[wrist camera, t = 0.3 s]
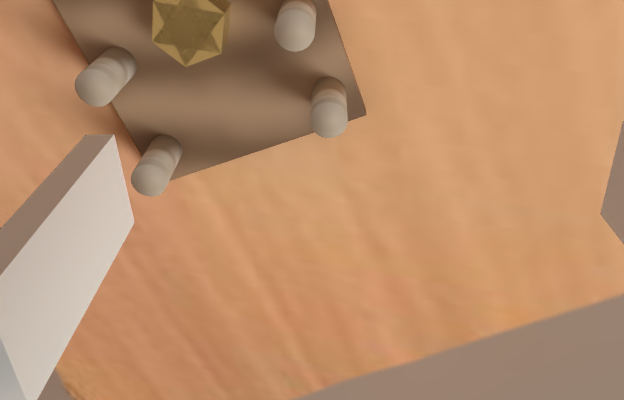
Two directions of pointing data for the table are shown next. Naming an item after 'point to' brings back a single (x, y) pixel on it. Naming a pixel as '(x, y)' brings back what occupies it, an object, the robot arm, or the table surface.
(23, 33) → the table surface
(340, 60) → the board
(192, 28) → the wooden star polyhedron
